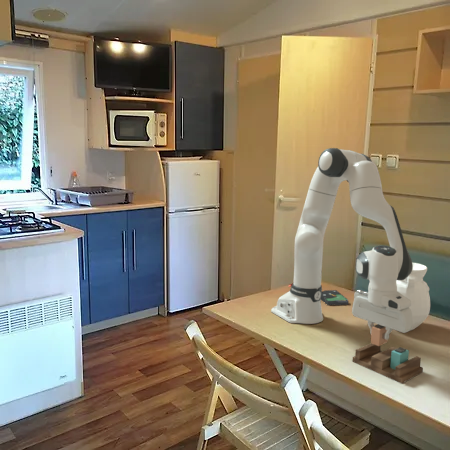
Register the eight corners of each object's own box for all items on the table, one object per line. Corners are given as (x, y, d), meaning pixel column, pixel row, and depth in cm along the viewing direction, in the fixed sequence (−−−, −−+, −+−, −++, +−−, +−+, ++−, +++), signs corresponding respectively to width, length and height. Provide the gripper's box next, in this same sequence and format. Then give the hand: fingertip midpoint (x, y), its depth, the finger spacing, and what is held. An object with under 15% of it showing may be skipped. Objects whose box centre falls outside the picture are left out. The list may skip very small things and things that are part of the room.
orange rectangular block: (370, 343, 154) (371, 325, 153) (379, 339, 157) (380, 322, 156) (378, 346, 152) (379, 328, 150) (387, 342, 155) (388, 324, 154)
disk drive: (315, 296, 223) (327, 306, 209) (315, 290, 223) (327, 300, 208) (335, 295, 225) (349, 305, 211) (336, 289, 225) (349, 299, 210)
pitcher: (432, 337, 176) (439, 273, 171) (381, 333, 179) (386, 269, 175) (422, 319, 194) (428, 261, 189) (376, 315, 197) (380, 258, 193)
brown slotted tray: (352, 361, 155) (353, 348, 154) (373, 352, 163) (374, 339, 162) (401, 383, 141) (403, 369, 141) (422, 372, 149) (423, 358, 148)
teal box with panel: (390, 367, 148) (391, 349, 147) (398, 363, 151) (400, 345, 150) (398, 371, 146) (400, 353, 145) (407, 366, 149) (409, 349, 148)
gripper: (349, 290, 157) (347, 329, 160) (405, 306, 142) (402, 349, 144) (360, 286, 161) (358, 324, 164) (416, 302, 146) (413, 344, 148)
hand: (379, 336), depth 154 cm, fingers closed on orange rectangular block, 3 cm apart
